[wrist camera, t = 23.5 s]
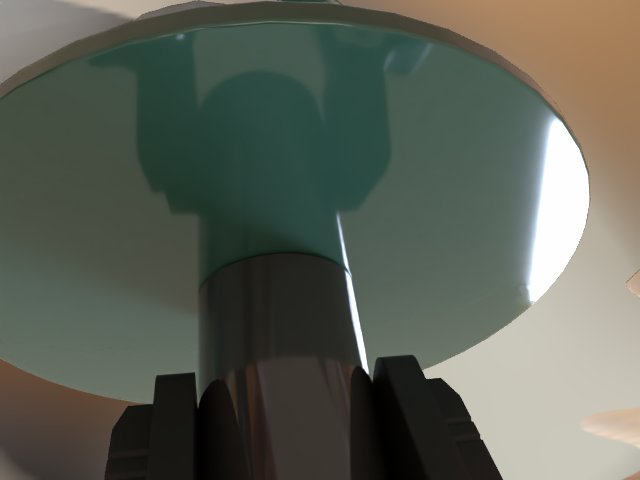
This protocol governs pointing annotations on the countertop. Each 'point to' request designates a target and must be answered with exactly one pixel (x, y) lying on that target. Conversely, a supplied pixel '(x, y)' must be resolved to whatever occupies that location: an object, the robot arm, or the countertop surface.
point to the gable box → (634, 284)
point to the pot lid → (275, 218)
